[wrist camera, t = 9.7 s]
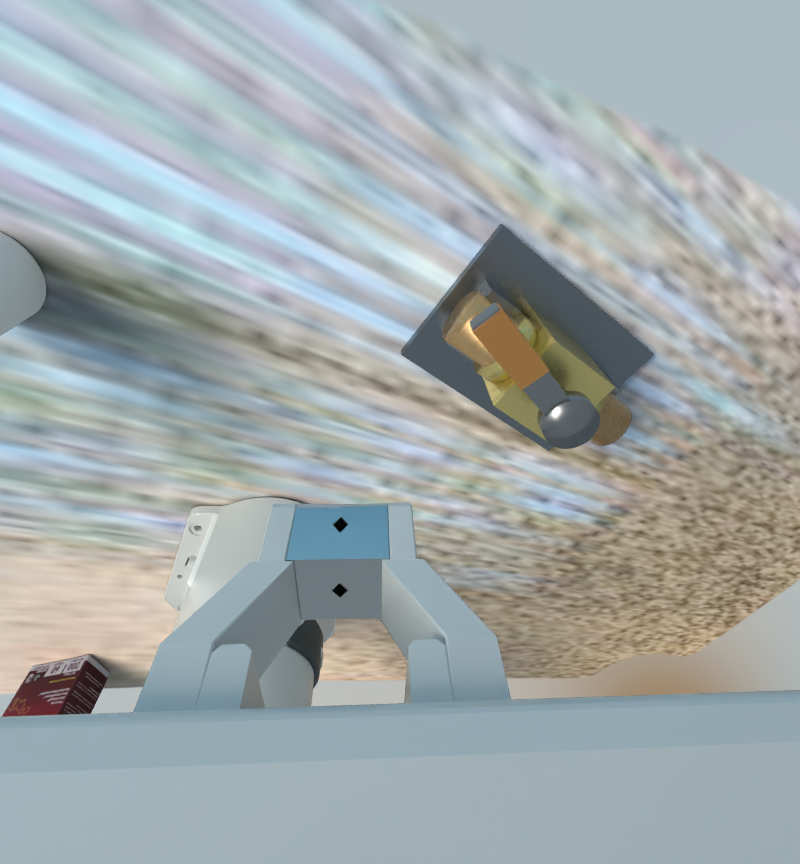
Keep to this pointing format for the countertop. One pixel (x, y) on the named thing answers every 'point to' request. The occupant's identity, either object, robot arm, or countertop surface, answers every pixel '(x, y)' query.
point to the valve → (528, 339)
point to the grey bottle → (18, 284)
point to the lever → (537, 381)
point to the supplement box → (60, 688)
